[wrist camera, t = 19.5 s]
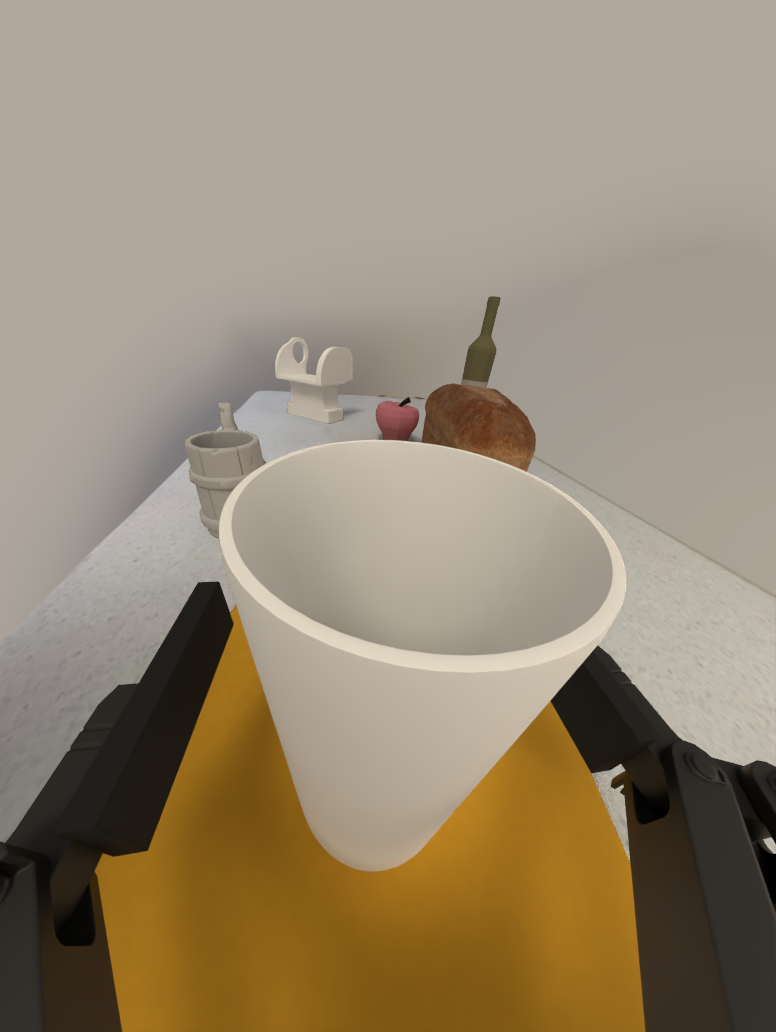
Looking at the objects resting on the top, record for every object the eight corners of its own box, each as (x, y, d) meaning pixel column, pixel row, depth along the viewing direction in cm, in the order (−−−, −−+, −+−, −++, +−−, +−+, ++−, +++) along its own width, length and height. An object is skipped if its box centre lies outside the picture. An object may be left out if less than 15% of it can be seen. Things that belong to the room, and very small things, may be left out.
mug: (199, 547, 28) (155, 428, 21) (214, 493, 37) (187, 398, 30) (279, 536, 30) (261, 427, 24) (275, 488, 39) (261, 399, 33)
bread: (465, 448, 63) (482, 379, 55) (524, 513, 40) (568, 410, 32) (414, 445, 62) (424, 374, 54) (444, 510, 38) (470, 402, 31)
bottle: (448, 423, 82) (473, 296, 66) (468, 423, 84) (498, 300, 68) (458, 430, 77) (489, 293, 60) (480, 430, 78) (516, 298, 62)
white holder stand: (280, 415, 73) (270, 334, 63) (312, 408, 83) (308, 338, 73) (322, 425, 68) (319, 340, 58) (351, 417, 78) (352, 343, 68)
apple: (403, 436, 67) (409, 392, 61) (423, 448, 60) (430, 400, 55) (367, 438, 63) (370, 391, 57) (384, 451, 56) (388, 400, 51)
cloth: (-147, 1226, 7) (-164, 1236, 6) (245, 593, 24) (244, 590, 23) (808, 1288, 7) (823, 1300, 7) (520, 619, 24) (522, 616, 24)
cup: (305, 680, 18) (268, 434, 9) (427, 667, 19) (495, 443, 10) (285, 894, 11) (64, 727, 2) (475, 849, 12) (783, 641, 4)
